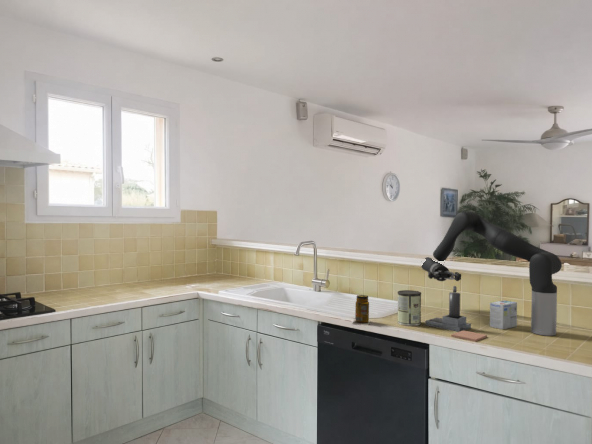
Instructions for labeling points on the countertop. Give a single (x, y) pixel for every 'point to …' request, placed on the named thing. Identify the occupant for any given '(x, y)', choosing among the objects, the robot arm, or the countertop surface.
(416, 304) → the coffee can
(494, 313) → the light bulb box
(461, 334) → the pink square coaster
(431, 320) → the grey holder stand
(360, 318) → the condiment
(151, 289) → the countertop surface
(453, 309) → the plug
